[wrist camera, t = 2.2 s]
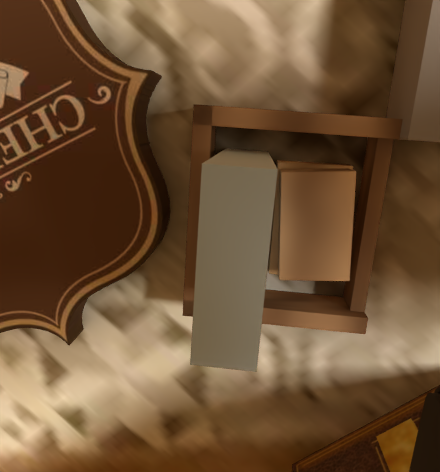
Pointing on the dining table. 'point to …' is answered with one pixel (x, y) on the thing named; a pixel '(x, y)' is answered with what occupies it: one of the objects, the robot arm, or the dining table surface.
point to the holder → (417, 73)
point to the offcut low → (275, 221)
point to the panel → (232, 258)
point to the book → (372, 444)
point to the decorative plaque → (70, 167)
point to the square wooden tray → (366, 221)
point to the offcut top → (315, 223)
